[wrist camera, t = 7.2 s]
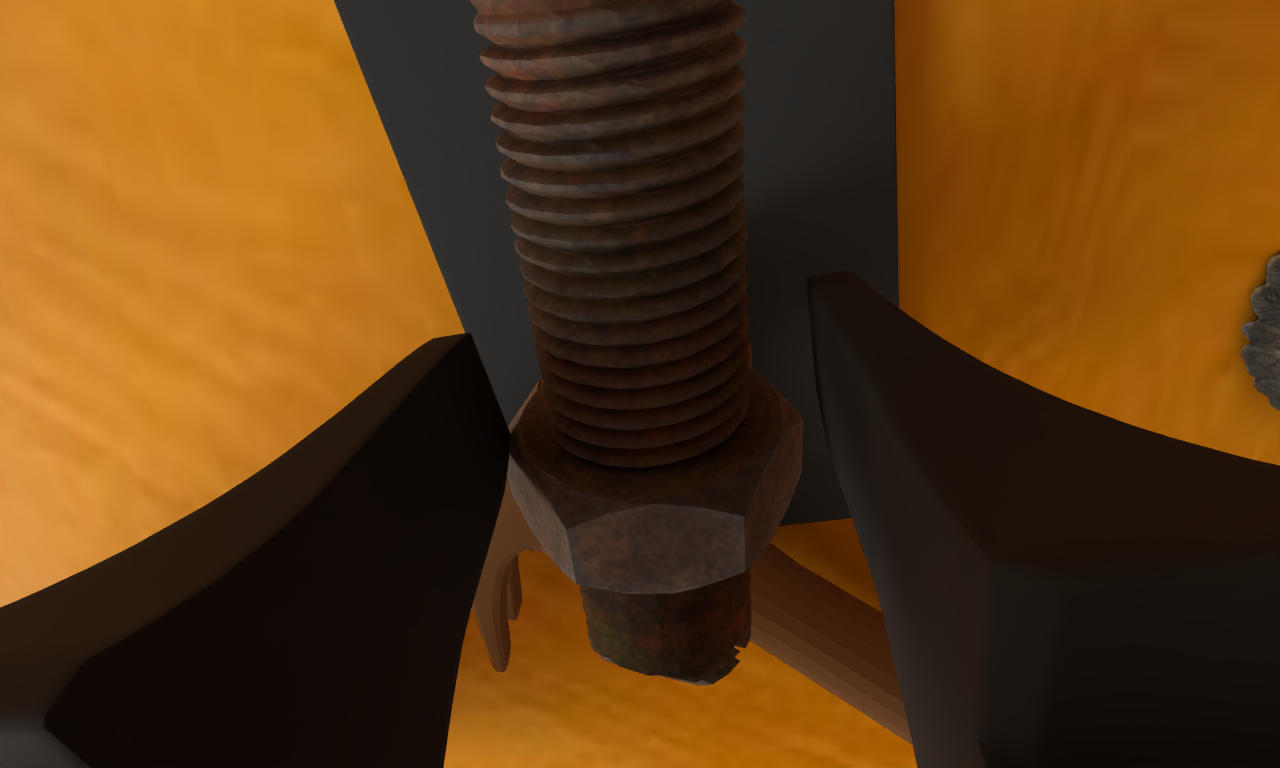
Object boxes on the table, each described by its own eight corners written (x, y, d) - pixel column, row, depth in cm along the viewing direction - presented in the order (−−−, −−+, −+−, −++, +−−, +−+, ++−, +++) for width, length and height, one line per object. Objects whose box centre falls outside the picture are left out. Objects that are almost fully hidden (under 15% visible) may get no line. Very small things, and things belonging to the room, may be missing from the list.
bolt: (633, 509, 18) (531, -326, 10) (838, 574, 16) (920, -438, 8) (480, 703, 14) (96, -453, 6) (729, 830, 12) (658, -775, 4)
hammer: (1285, 767, 27) (660, 243, 16) (1350, 864, 24) (656, 315, 14) (999, 868, 32) (390, 523, 21) (1027, 956, 29) (350, 612, 19)
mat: (553, 543, 22) (551, 553, 22) (228, -290, 12) (216, -295, 11) (898, 502, 21) (902, 512, 20) (881, -495, 10) (887, -508, 10)
